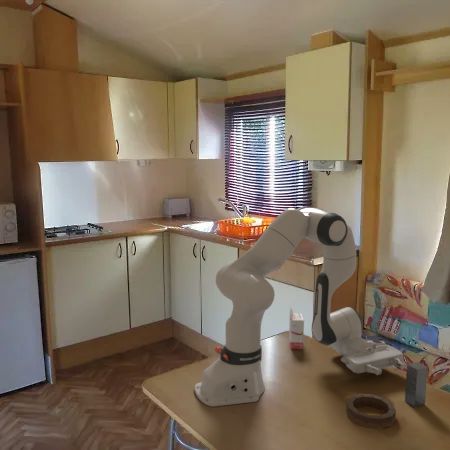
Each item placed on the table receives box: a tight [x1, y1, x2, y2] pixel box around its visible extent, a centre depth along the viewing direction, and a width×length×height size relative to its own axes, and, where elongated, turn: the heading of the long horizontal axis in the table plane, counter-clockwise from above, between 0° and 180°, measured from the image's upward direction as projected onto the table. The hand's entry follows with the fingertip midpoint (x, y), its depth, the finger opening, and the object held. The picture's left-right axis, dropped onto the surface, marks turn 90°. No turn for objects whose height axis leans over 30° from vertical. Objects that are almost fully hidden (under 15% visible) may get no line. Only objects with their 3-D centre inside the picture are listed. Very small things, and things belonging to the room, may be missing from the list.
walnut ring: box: [345, 393, 397, 430], centre depth 137 cm, size 13×13×3 cm
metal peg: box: [404, 361, 428, 408], centre depth 143 cm, size 4×4×12 cm
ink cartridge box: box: [288, 306, 305, 350], centre depth 185 cm, size 9×5×15 cm, turn 178°
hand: (391, 369), depth 152 cm, fingers open, 8 cm apart
